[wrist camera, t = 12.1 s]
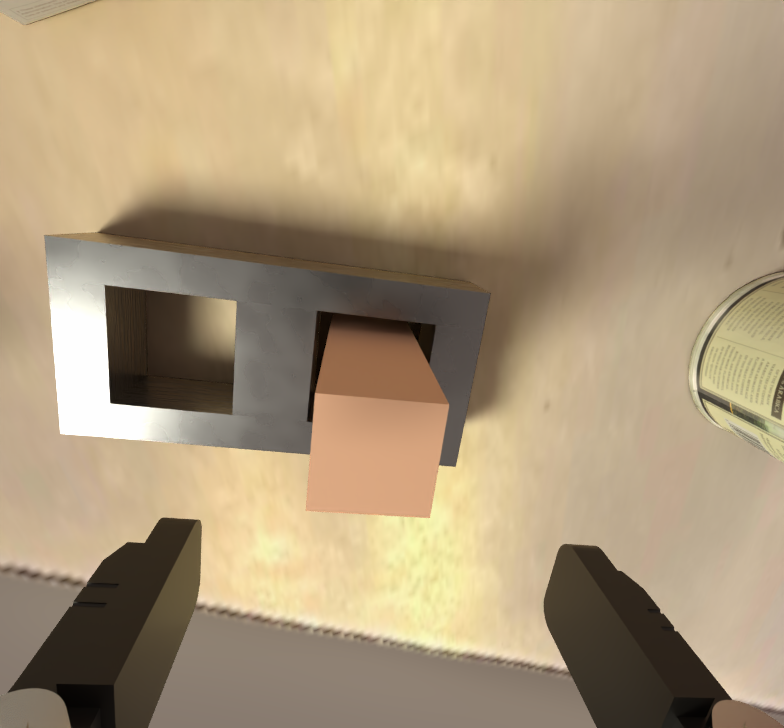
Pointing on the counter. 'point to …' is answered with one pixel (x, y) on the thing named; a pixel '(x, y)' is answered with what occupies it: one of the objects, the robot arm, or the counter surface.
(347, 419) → the square peg
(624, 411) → the counter surface
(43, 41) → the counter surface
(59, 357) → the block with square holes
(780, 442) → the coffee can
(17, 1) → the supplement box
